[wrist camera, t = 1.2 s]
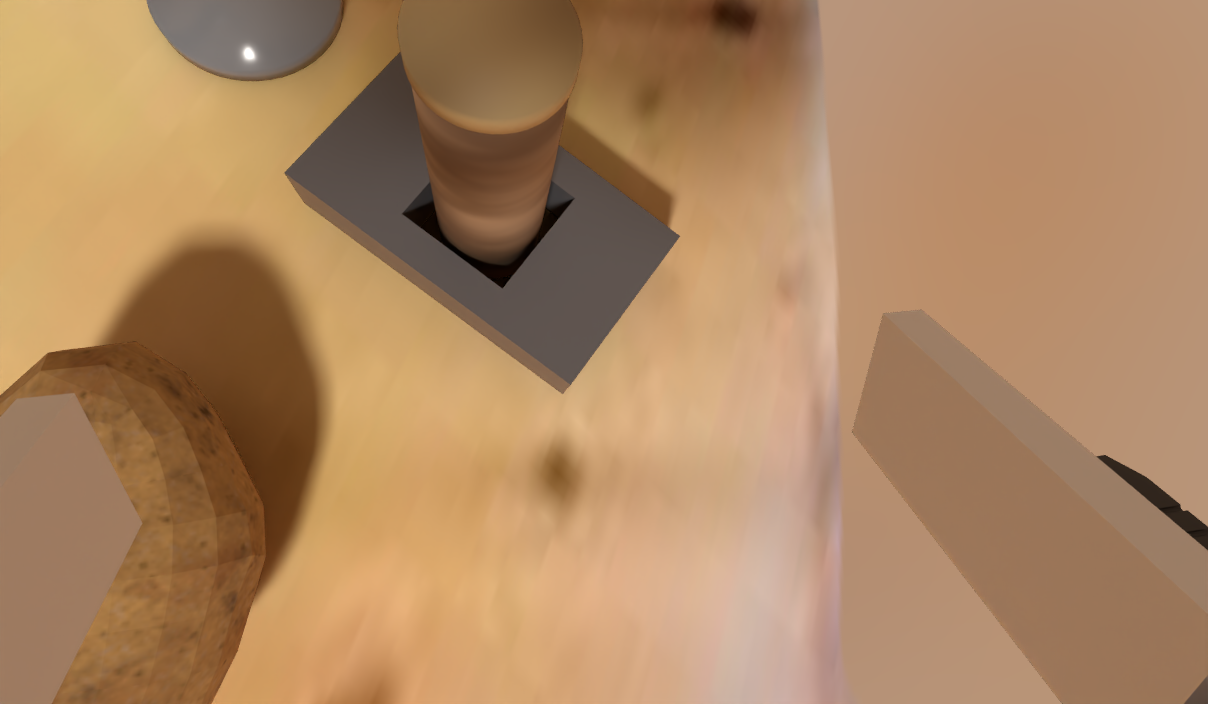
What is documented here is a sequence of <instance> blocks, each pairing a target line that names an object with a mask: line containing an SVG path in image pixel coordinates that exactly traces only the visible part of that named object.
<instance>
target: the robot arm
mask: <svg viewBox="0 0 1208 704" xmlns="http://www.w3.org/2000/svg"><path fill="white" fill-rule="evenodd" d="M852 433H853V434H854V436H855V437H856V438H857V439H858V441H859V442H860V443H861V445H862V446H863V447H864V448H865V449H866V451H867V452H868V454H869V455H870V456H871V457H872V459H873V460H874V461H875V463H876V464H877V465H878V466H879V468H880V469H881V470H882V472H883V473H884V474H885V476H886V477H887V478H888V479H889V481H890V482H891V483H892V485H893V486H894V487H895V489H896V490H897V491H898V492H899V494H900V495H901V496H902V498H903V499H904V500H905V501H906V503H907V504H908V505H909V507H910V508H911V509H912V511H913V512H914V513H915V514H916V516H917V517H918V518H919V519H920V521H921V522H922V523H923V525H924V526H925V527H926V529H927V530H928V531H929V532H930V534H931V535H932V536H933V538H934V539H935V540H936V541H937V543H938V544H939V545H940V547H941V548H942V549H943V551H944V552H945V553H946V554H947V556H948V557H949V558H950V560H951V561H952V562H953V563H954V565H955V566H956V567H957V569H958V570H959V571H960V572H961V574H962V575H963V576H964V578H965V579H966V580H967V582H968V583H969V584H970V585H971V587H972V588H973V589H974V591H975V592H976V593H977V594H978V596H979V597H980V598H981V600H982V601H983V602H984V604H985V605H986V606H987V607H988V609H989V610H990V611H991V613H992V614H993V615H994V616H995V618H996V619H997V620H998V622H999V623H1000V624H1001V626H1002V627H1003V628H1004V629H1005V631H1006V632H1007V633H1008V634H1009V636H1010V637H1011V638H1012V640H1013V641H1014V642H1015V644H1016V645H1017V646H1018V648H1019V649H1020V650H1021V651H1022V653H1023V654H1024V655H1025V656H1026V658H1027V659H1028V660H1029V662H1030V663H1031V664H1032V666H1033V667H1034V668H1035V669H1036V670H1037V672H1038V673H1039V675H1040V676H1041V677H1042V679H1043V680H1044V681H1045V682H1046V684H1047V685H1048V686H1049V687H1050V689H1051V690H1052V691H1053V693H1054V694H1055V695H1056V697H1057V698H1058V699H1059V700H1060V702H1061V703H1062V704H1208V527H1207V526H1206V525H1205V524H1203V523H1202V522H1201V521H1200V520H1198V519H1197V518H1196V517H1195V516H1194V515H1192V514H1191V513H1190V512H1189V511H1183V510H1182V509H1181V507H1180V504H1179V503H1178V502H1176V501H1175V500H1174V499H1173V498H1171V497H1170V496H1169V495H1168V494H1166V493H1165V492H1164V491H1163V490H1162V489H1160V488H1159V487H1158V486H1157V485H1155V484H1154V483H1153V482H1152V481H1151V480H1149V479H1148V478H1147V477H1145V476H1143V475H1141V474H1140V473H1138V472H1136V471H1134V470H1132V469H1130V468H1128V467H1126V466H1125V465H1123V464H1121V463H1119V462H1117V461H1115V460H1113V459H1111V458H1110V457H1108V456H1106V455H1103V456H1095V455H1094V454H1093V453H1091V452H1090V451H1089V450H1088V449H1087V448H1085V447H1084V446H1083V445H1082V444H1081V443H1080V442H1078V441H1077V440H1076V439H1075V438H1074V437H1072V436H1071V435H1070V434H1069V433H1068V432H1066V431H1065V430H1064V429H1063V428H1062V427H1061V426H1059V425H1058V424H1057V423H1056V422H1054V421H1053V420H1052V419H1051V418H1050V417H1049V416H1047V415H1046V414H1045V413H1044V412H1043V411H1042V410H1040V409H1039V408H1038V407H1037V406H1036V405H1034V404H1033V403H1032V402H1031V401H1030V400H1028V399H1027V398H1026V397H1025V396H1024V395H1023V394H1021V393H1020V392H1019V391H1018V390H1017V389H1015V388H1014V387H1013V386H1012V385H1011V384H1009V383H1008V382H1007V381H1006V380H1004V379H1003V378H1002V377H1001V376H1000V375H999V374H998V373H996V372H995V371H994V370H993V369H991V368H990V367H989V366H988V365H987V364H986V363H984V362H983V361H982V360H981V359H980V358H978V357H977V356H976V355H975V354H974V353H973V352H971V351H970V350H969V349H968V348H967V347H965V346H964V345H963V344H962V343H961V342H960V341H958V340H957V339H956V338H955V337H954V336H952V335H951V334H950V333H949V332H948V331H947V330H945V329H944V328H943V327H942V326H941V325H939V324H938V323H937V322H936V321H934V320H933V319H932V318H931V317H930V316H929V315H927V314H926V313H925V312H924V311H923V310H913V311H903V312H893V313H884V314H883V316H882V320H881V323H880V327H879V331H878V335H877V339H876V343H875V347H874V350H873V354H872V358H871V362H870V365H869V369H868V373H867V377H866V381H865V385H864V388H863V392H862V396H861V400H860V404H859V407H858V411H857V415H856V419H855V422H854V426H853V431H852ZM141 525H142V521H141V519H140V517H139V516H138V514H137V512H136V510H135V508H134V506H133V504H132V502H131V500H130V498H129V496H128V495H127V493H126V491H125V489H124V487H123V485H122V483H121V481H120V479H119V477H118V475H117V474H116V472H115V470H114V468H113V466H112V464H111V462H110V460H109V458H108V456H107V454H106V453H105V451H104V449H103V447H102V445H101V443H100V441H99V439H98V437H97V435H96V433H95V431H94V430H93V428H92V426H91V424H90V422H89V420H88V418H87V416H86V414H85V412H84V410H83V409H82V407H81V405H80V403H79V401H78V399H77V397H76V395H75V393H70V394H59V395H49V396H39V397H29V398H19V399H16V400H15V401H14V402H13V403H12V405H11V406H10V407H9V408H8V409H7V410H6V411H5V412H4V414H3V415H2V416H1V417H0V704H52V702H53V700H54V698H55V696H56V694H57V692H58V690H59V688H60V686H61V684H62V682H63V680H64V678H65V676H66V674H67V672H68V670H69V668H70V666H71V664H72V662H73V660H74V658H75V656H76V654H77V652H78V650H79V648H80V646H81V644H82V642H83V640H84V638H85V636H86V635H87V633H88V631H89V629H90V627H91V625H92V623H93V621H94V619H95V617H96V615H97V613H98V611H99V609H100V607H101V605H102V603H103V601H104V599H105V597H106V595H107V593H108V591H109V589H110V587H111V585H112V583H113V581H114V579H115V577H116V575H117V573H118V571H119V569H120V567H121V565H122V563H123V561H124V559H125V557H126V555H127V553H128V551H129V549H130V547H131V545H132V543H133V541H134V539H135V537H136V535H137V533H138V531H139V529H140V527H141Z"/></svg>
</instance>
